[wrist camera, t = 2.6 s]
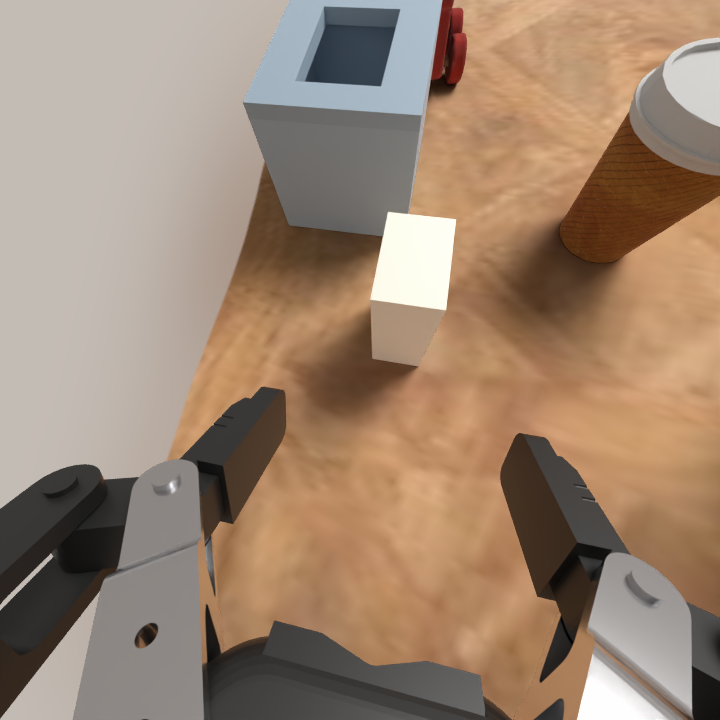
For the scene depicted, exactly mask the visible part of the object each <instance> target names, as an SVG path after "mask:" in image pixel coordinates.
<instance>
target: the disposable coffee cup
mask: <svg viewBox="0 0 720 720" xmlns="http://www.w3.org/2000/svg"><path fill="white" fill-rule="evenodd" d="M718 196H720V38H711V39H703V40H699V41H695V42H692V43H689V44H686V45H684V46H682V47H680V48H679V49H677V50H676V51H674V52H673V53H672V54H671V55H670V56H669V57H668V58H667V59H666V60H665V61H664V62H663V63H662V64H661V65H660V66H659V67H658V68H656V69H654V70H653V71H651V72H650V73H649V74H648V75H646V76H645V77H644V78H643V79H642V81H641V82H640V84H639V85H638V87H637V89H636V91H635V93H634V99H633V101H632V102H631V106H630V110H629V113H628V114H627V116H626V118H625V119H624V121H623V123H622V124H621V126H620V127H619V129H618V131H617V133H616V134H615V136H614V137H613V139H612V141H611V142H610V144H609V145H608V147H607V149H606V150H605V152H604V154H603V156H602V158H601V159H600V160H599V162H598V164H597V165H596V167H595V169H594V170H593V172H592V174H591V175H590V177H589V179H588V180H587V182H586V183H585V185H584V187H583V188H582V190H581V192H580V194H579V195H578V197H577V198H576V200H575V201H574V203H573V205H572V207H571V208H570V210H569V211H568V213H567V215H566V217H565V218H564V219H563V221H562V223H561V225H560V237H561V239H562V241H563V243H564V245H565V246H566V248H567V249H568V250H569V251H571V252H572V253H573V254H575V255H576V256H578V257H579V258H582V259H584V260H587V261H590V262H596V263H608V262H613V261H615V260H617V259H619V258H621V257H622V256H624V255H625V254H627V253H629V252H630V251H632V250H633V249H635V248H637V247H638V246H640V245H641V244H643V243H645V242H646V241H648V240H649V239H651V238H653V237H654V236H656V235H657V234H659V233H661V232H663V231H664V230H666V229H667V228H669V227H670V226H672V225H673V224H675V223H676V222H678V221H680V220H681V219H683V218H684V217H686V216H688V215H690V214H691V213H693V212H694V211H696V210H697V209H699V208H701V207H702V206H704V205H705V204H707V203H709V202H710V201H712V200H713V199H715V198H716V197H718Z"/></svg>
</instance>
